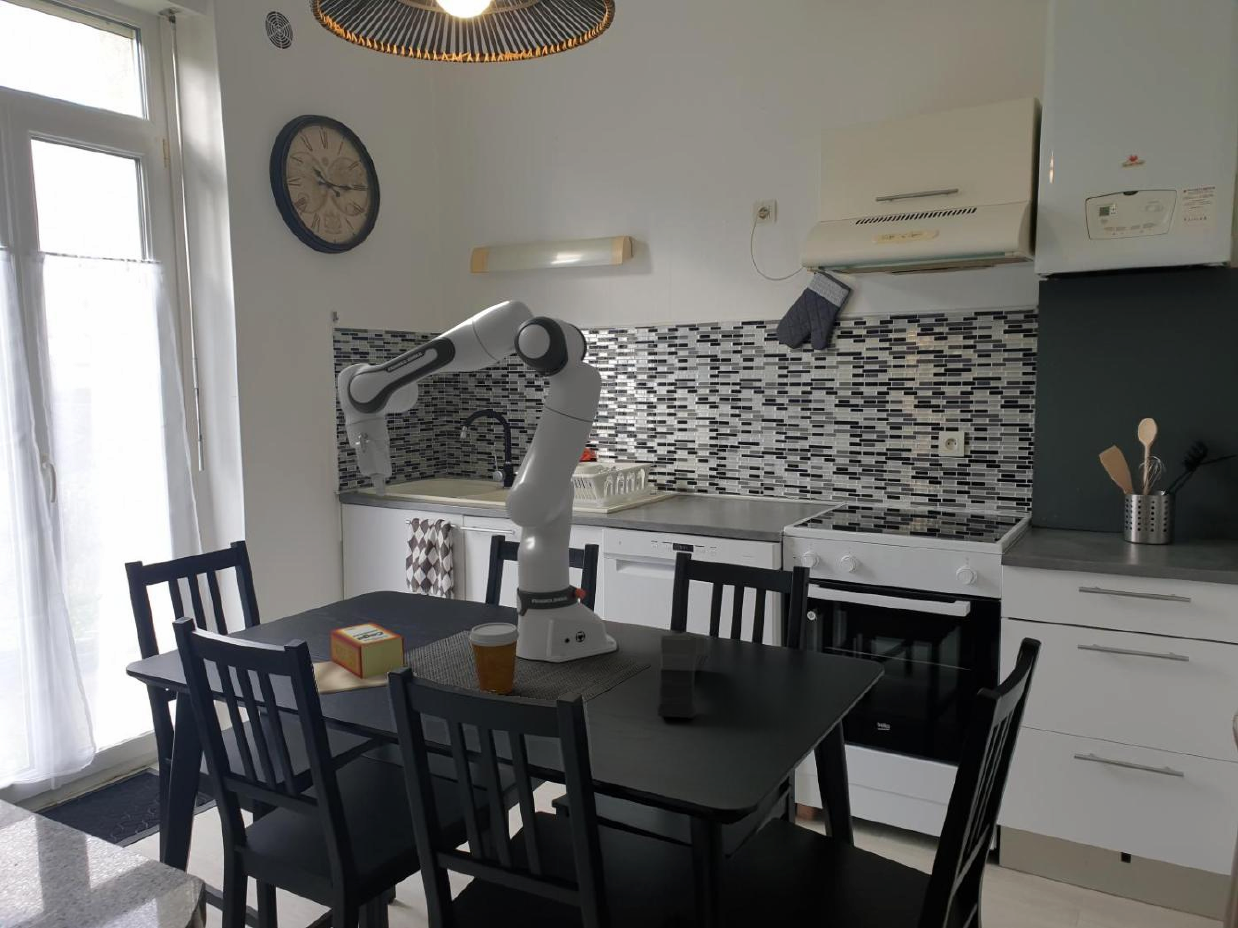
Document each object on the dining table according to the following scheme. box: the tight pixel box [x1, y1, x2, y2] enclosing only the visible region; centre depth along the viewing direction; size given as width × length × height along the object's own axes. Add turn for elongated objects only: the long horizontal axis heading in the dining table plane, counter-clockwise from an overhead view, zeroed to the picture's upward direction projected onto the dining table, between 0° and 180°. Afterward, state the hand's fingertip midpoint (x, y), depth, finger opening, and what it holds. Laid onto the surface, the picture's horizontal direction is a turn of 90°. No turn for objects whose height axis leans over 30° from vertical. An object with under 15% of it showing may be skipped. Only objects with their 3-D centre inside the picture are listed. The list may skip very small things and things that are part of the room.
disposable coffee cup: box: [468, 622, 519, 695], centre depth 177 cm, size 10×10×12 cm
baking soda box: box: [329, 622, 406, 678], centre depth 193 cm, size 10×6×16 cm
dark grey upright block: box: [657, 631, 709, 719], centre depth 173 cm, size 6×29×15 cm, turn 170°
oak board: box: [312, 660, 407, 695], centre depth 189 cm, size 18×19×1 cm
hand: (381, 495), depth 210 cm, fingers closed
